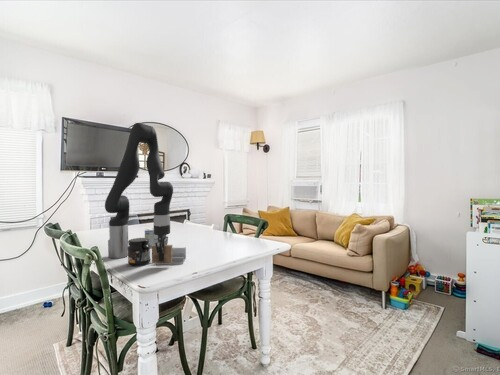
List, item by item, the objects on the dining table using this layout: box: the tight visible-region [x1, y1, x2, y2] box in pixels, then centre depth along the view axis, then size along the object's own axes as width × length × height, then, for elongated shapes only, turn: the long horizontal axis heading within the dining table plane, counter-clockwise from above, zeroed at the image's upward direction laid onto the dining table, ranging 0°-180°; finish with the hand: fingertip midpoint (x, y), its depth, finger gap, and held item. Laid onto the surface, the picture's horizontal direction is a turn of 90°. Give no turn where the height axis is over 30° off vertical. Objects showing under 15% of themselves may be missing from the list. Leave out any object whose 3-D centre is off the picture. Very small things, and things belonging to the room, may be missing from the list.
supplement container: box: [127, 237, 152, 267], centre depth 137 cm, size 10×10×12 cm
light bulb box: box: [144, 227, 158, 248], centre depth 173 cm, size 11×7×11 cm, turn 108°
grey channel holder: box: [155, 246, 187, 266], centre depth 139 cm, size 13×9×6 cm
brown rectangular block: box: [151, 244, 173, 264], centre depth 131 cm, size 9×3×8 cm, turn 93°
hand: (162, 259), depth 131 cm, fingers closed on brown rectangular block, 2 cm apart
